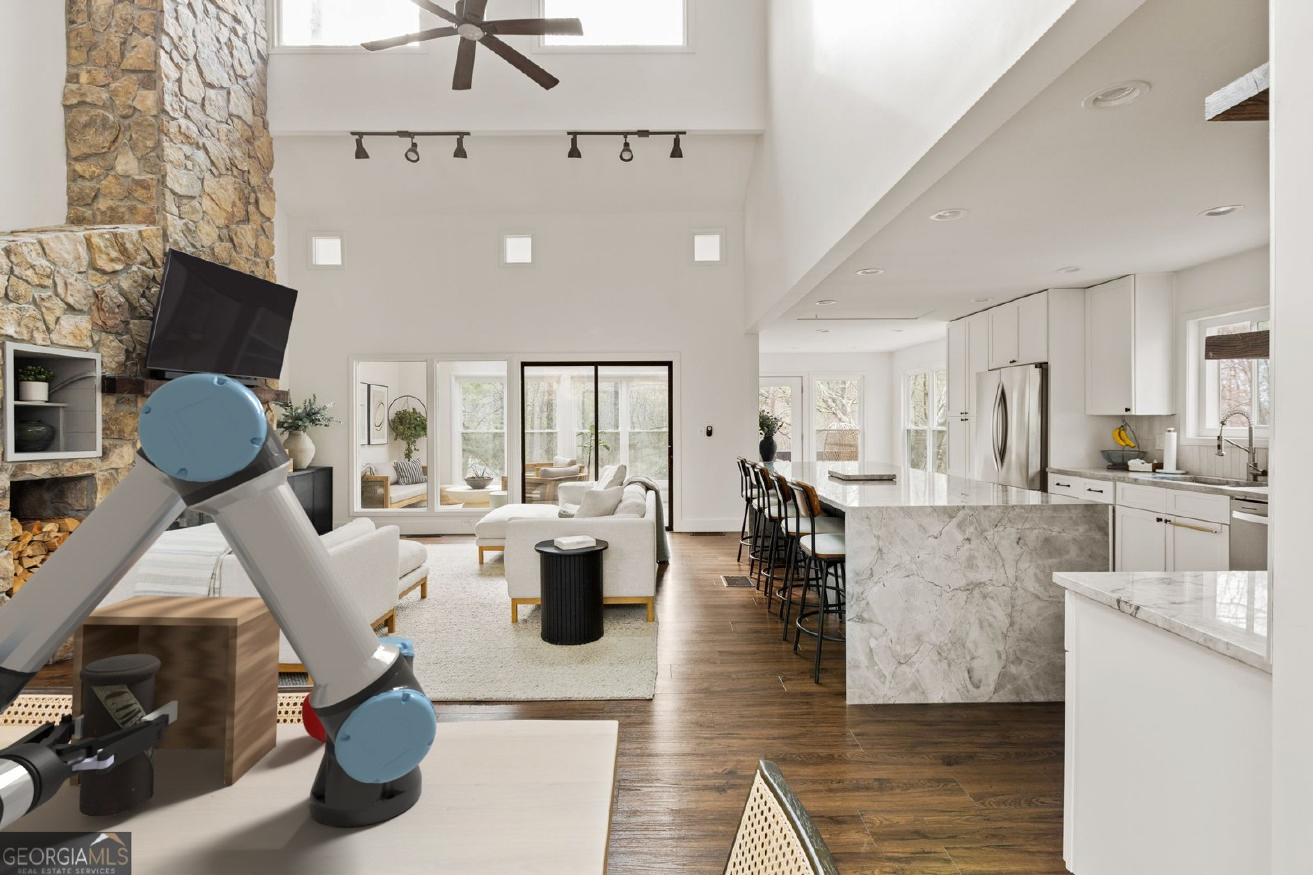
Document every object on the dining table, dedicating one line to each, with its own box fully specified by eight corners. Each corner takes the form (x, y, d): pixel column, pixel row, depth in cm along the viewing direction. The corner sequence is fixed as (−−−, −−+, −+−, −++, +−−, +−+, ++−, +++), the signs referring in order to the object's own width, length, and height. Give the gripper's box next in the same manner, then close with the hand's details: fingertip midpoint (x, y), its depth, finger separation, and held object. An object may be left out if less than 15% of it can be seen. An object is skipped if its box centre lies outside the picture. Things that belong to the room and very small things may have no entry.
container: (112, 824, 89) (117, 671, 89) (57, 814, 91) (62, 665, 91) (171, 791, 97) (176, 652, 98) (120, 783, 99) (125, 647, 99)
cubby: (276, 745, 115) (280, 597, 115) (232, 785, 102) (237, 618, 102) (132, 745, 113) (137, 595, 114) (69, 785, 100) (75, 616, 100)
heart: (325, 757, 111) (327, 696, 112) (292, 756, 111) (294, 696, 111) (354, 727, 123) (355, 672, 123) (323, 726, 123) (325, 671, 123)
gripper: (-97, 823, 76) (68, 735, 98) (98, 822, 77) (216, 735, 100) (-94, 756, 76) (70, 683, 98) (101, 756, 77) (218, 684, 100)
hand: (143, 709), depth 99 cm, fingers closed on container, 8 cm apart
